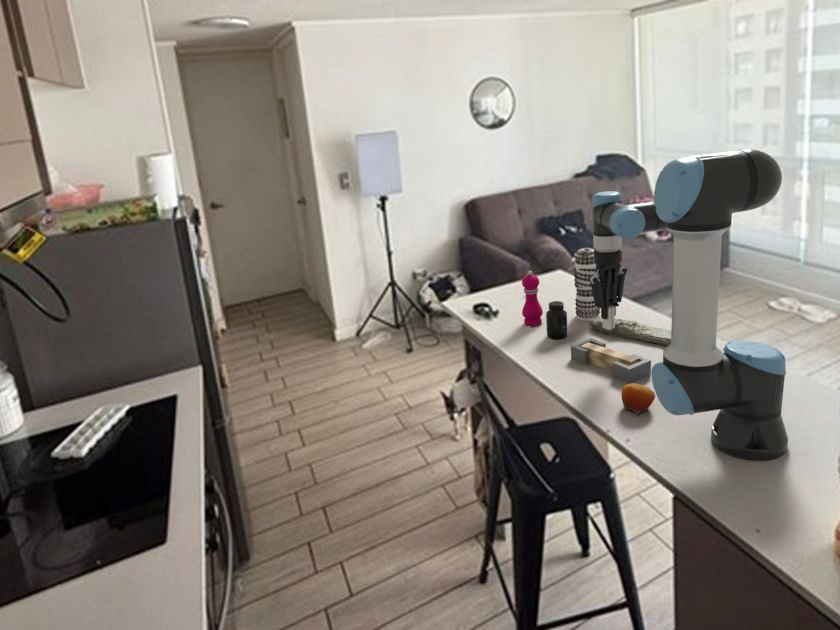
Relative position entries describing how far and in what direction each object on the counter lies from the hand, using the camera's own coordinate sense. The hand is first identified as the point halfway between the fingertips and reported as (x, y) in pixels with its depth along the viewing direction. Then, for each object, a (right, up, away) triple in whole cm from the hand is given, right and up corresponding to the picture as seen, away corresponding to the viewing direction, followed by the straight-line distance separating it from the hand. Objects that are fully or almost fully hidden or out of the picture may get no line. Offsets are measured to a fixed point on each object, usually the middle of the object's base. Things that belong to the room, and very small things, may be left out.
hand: (608, 327), depth 175 cm
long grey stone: (+17, -4, +23) cm, 28 cm away
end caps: (+1, -12, +4) cm, 12 cm away
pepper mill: (-14, 0, +43) cm, 45 cm away
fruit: (+1, -20, -20) cm, 29 cm away
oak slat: (+1, -12, +4) cm, 13 cm away
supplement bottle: (-8, -4, +30) cm, 31 cm away
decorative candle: (+6, +3, +44) cm, 44 cm away
